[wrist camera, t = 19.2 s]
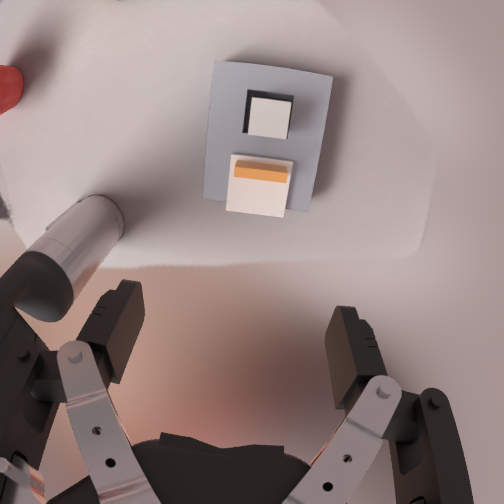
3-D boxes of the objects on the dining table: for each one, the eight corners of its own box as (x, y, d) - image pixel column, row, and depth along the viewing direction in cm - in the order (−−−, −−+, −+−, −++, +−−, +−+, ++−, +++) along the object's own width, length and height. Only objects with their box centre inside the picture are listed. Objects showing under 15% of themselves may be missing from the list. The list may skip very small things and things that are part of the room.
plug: (250, 125, 38) (247, 134, 31) (254, 95, 36) (251, 97, 29) (281, 128, 38) (286, 139, 31) (285, 99, 36) (291, 102, 29)
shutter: (226, 208, 40) (223, 220, 37) (231, 153, 36) (228, 160, 33) (283, 215, 40) (284, 228, 37) (292, 161, 36) (295, 169, 33)
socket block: (207, 188, 43) (202, 199, 40) (219, 62, 34) (214, 60, 30) (304, 200, 44) (308, 211, 40) (326, 77, 34) (333, 76, 31)
